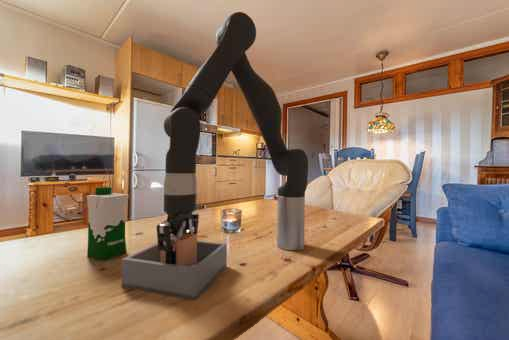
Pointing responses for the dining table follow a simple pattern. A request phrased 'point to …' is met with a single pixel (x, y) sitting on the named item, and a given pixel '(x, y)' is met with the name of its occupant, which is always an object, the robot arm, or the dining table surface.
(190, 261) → the box
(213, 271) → the big crate
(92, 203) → the milk carton
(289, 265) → the dining table surface
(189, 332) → the dining table surface
